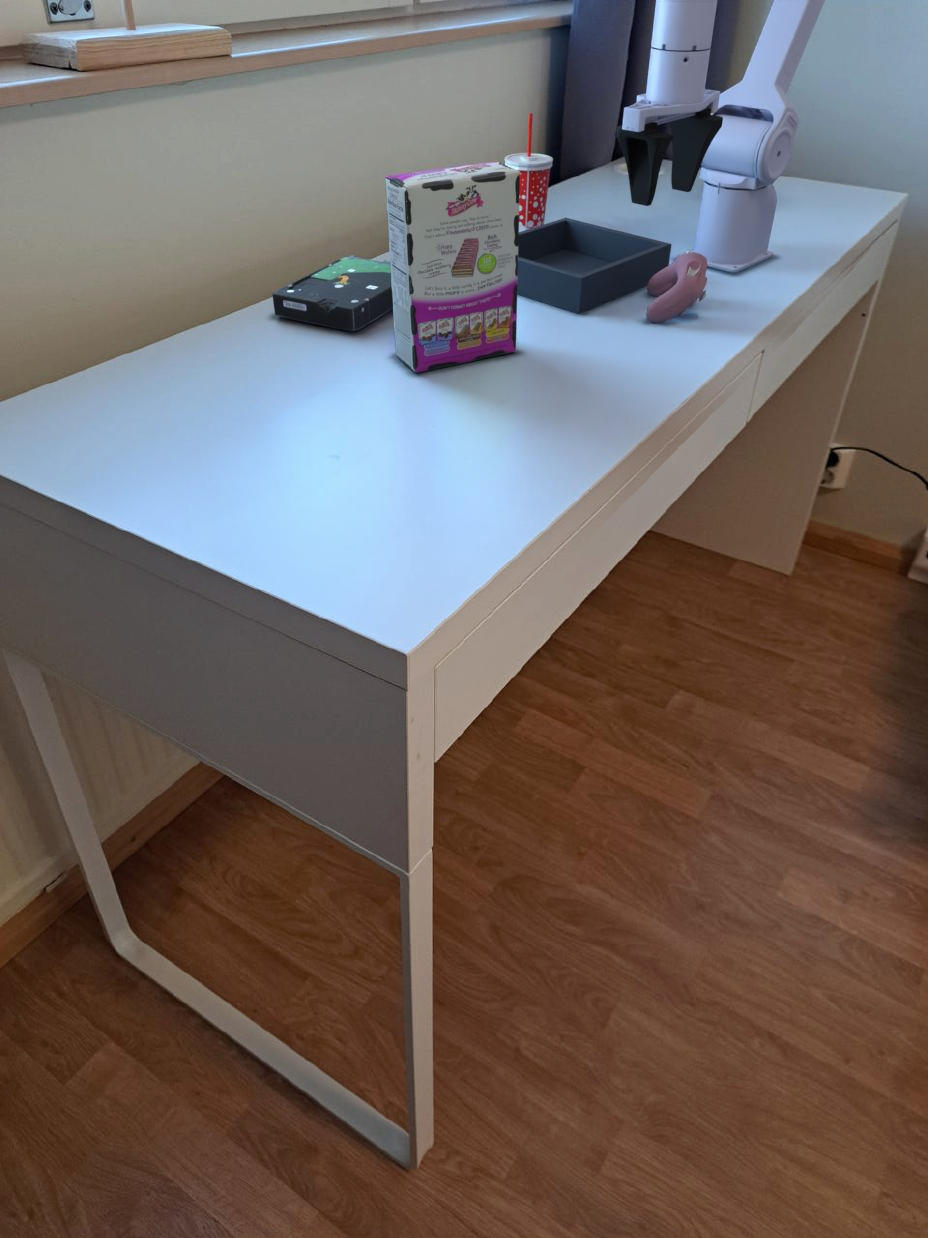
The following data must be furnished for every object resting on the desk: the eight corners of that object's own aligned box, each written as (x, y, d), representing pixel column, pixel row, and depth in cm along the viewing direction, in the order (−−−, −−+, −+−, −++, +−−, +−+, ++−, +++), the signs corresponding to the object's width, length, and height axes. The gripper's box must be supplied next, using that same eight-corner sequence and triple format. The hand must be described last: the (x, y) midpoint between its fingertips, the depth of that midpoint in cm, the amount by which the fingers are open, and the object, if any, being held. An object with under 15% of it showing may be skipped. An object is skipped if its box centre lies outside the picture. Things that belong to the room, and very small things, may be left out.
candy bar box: (492, 336, 93) (496, 158, 83) (517, 353, 89) (524, 170, 79) (391, 356, 89) (382, 172, 79) (413, 374, 85) (406, 185, 75)
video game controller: (678, 340, 96) (719, 282, 92) (641, 318, 95) (681, 258, 91) (677, 308, 104) (715, 252, 99) (643, 287, 103) (679, 230, 99)
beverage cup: (549, 226, 124) (556, 109, 115) (548, 239, 119) (555, 118, 110) (504, 224, 124) (507, 108, 115) (501, 238, 119) (504, 117, 111)
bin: (563, 249, 116) (565, 217, 113) (667, 277, 107) (671, 243, 105) (473, 280, 106) (473, 246, 104) (579, 313, 98) (582, 277, 96)
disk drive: (357, 336, 93) (426, 290, 104) (355, 309, 91) (425, 264, 102) (273, 319, 97) (348, 276, 107) (269, 292, 95) (346, 251, 105)
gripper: (686, 37, 96) (667, 178, 104) (602, 51, 87) (590, 202, 96) (746, 43, 92) (722, 188, 100) (665, 58, 84) (647, 215, 92)
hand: (661, 196), depth 98 cm, fingers open, 7 cm apart
